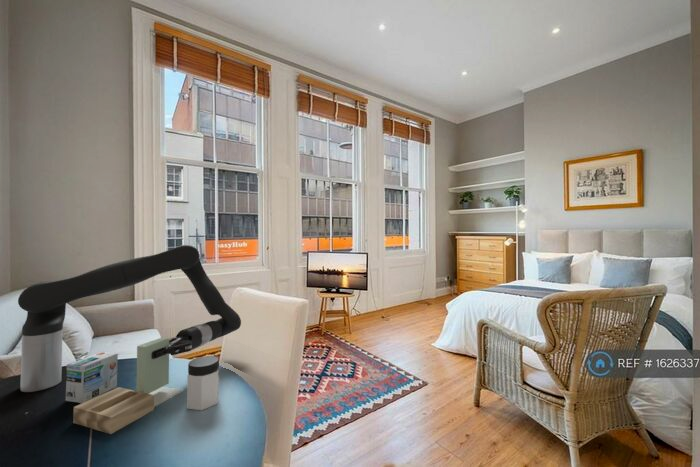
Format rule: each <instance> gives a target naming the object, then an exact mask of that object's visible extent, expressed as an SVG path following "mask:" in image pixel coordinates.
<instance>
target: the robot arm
mask: <svg viewBox="0 0 700 467" xmlns="http://www.w3.org/2000/svg"><path fill="white" fill-rule="evenodd" d="M177 270H181V271H182V272H183V273H184V275H185V276H186V277H187V278H188V281H190V282H191V284H192V286H193V287H194V290H195V291H196V293H197V295H198V297H199V299H200V301H201V302H202V304H203V307H205V310H207V312H208V313H209V315H210V316H217V315H218V316H219V317H220V318H218V319H216V320H211V321H210V320H209V321H207V322H204V323H201V324H196V325H192V326H190V327H187V328H183V329H182V330H180V331H178V333H177V335H176V336H172V337H170V338H169V345H168V346H165V348H161V349H158V350H155V351H153V352H152V359H156V358H158V357H161V356H163V355H169V356H176V355H180V354H183V353H188V352H191V351H193V350H195V349H198V348H200V347H202V346H204V345H206V344H208V343H210V342H212V341H215V340H216V339H218V338H222V337H224V336H227V335H229V334H231V333H234V332H235V331H237V330H239V329H240V327H241V326H242V320H241V316H240V315H239V314H238V313H237V312H236V311H235V310H234V309H233V308H232V307H231V306H230V305H229V304H228V303H226V301H225V299H224V297H223V296H222V295H221V292H220V291H219V289H217V288H218V287H216V285H215V284H214V282H212V280H211V279H210V278H209V276H208V275H207V273H206V271H205V270H204V268H203V265H202V261H201V260H200V252H199V250H198V249H197V247H195V246H194V245H191V244H181V245H179V246H176V247H173V248H171V249H168V250H165V251H162V252H158V253H155V254H151V255H147V256H141V257H136V258H131V259H126V260H122V261H118V262H115V263H110V264H106V265H104V266H101V267H98V268H96V269H93V270H90V271H87V272H85V273H81V274H80V275H76V276H73V277H69V278H66V279H60V280H56V281H53V280H46V281H45V280H44V281H42V282H38V283H35V284H31V285H30V286H28V287H26V288H24V290H23V291H22V292H20V294H19V296H18V300H17V303H18V306H19V307H20V308H21V309H22V310H23V311H26V312H27V315H26V318H25V322H24V323H23V326H22V331H21V333H22V334H21V356H20V357H21V358H20V359H21V360H20V361H21V362H20V383H19V384H20V385H19V387H20V392H23V393H34V392H39V391H43V390H47V389H49V388H52V387H54V386H57V385H59V384H60V383H61V382H62V368H63V364H62V362H63V360H62V359H63V330H64V329H63V328H64V321H65V318H66V308H67V304H68V303H71V302H74V301H76V300H79V299H83V298H88V297H91V296H97V295H100V294H105V293H110V292H112V291H116V290H117V291H118V290H121V289H123V288H127V287H131V286H134V285H136V284H140V283H142V282H144V281H147V280H149V279H152V278H154V277H156V276H158V275H161V274H164V273H168V272H172V271H177Z"/></svg>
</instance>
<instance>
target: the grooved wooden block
mask: <svg viewBox="0 0 700 467" xmlns="http://www.w3.org/2000/svg"><path fill="white" fill-rule="evenodd" d="M153 411H155V407H154V395H151V394H147V393H142V392H138V391H136V390H133V389H130V388H124V387H120V386H119V387H118V386H117V387H116V388H114V389H111V390H109V391H107V392H105V393H103V394H101V395H99V396H97V397H95V398H93V399H91V400H89V401H86V402H84V403H79V404H78V405H75V406H73V412H72V413H73V414H72V415H73V416H72V418H73V422H72V423H73V424H76V425H79V426H83V427H86V428H90V429H93V430H95V431H99V432H103V433H105V434H109V435H112V434H114V433H116V432H118V431H119V430H121V429H123V428H124V427H127V426H128V425H130V424H131V423H134V422H135V421H137V420H138V419H140V418H142V417H144V416H145V415H147V414H149V413H151V412H153Z"/></svg>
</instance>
